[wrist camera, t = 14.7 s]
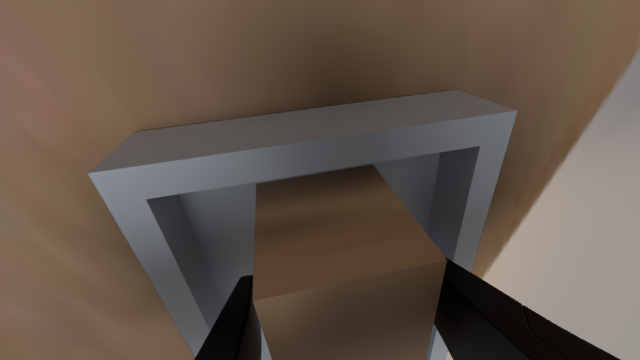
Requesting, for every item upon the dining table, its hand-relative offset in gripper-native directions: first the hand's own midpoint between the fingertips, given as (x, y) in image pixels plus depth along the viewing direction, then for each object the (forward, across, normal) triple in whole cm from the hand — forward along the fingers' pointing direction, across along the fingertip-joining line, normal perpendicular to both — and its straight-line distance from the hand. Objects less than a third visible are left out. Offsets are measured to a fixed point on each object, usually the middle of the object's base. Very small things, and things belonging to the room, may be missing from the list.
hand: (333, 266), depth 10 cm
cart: (+4, 0, +6) cm, 7 cm away
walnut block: (+2, 0, 0) cm, 3 cm away
